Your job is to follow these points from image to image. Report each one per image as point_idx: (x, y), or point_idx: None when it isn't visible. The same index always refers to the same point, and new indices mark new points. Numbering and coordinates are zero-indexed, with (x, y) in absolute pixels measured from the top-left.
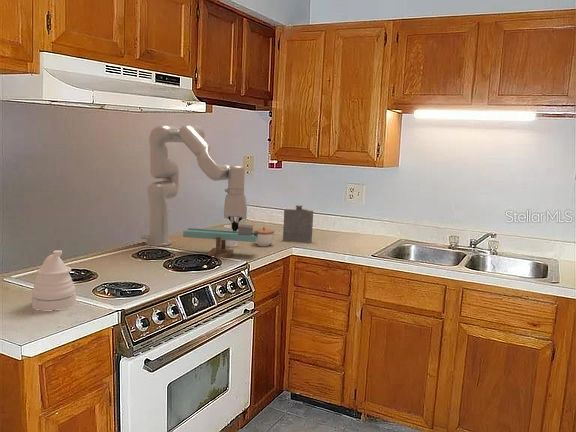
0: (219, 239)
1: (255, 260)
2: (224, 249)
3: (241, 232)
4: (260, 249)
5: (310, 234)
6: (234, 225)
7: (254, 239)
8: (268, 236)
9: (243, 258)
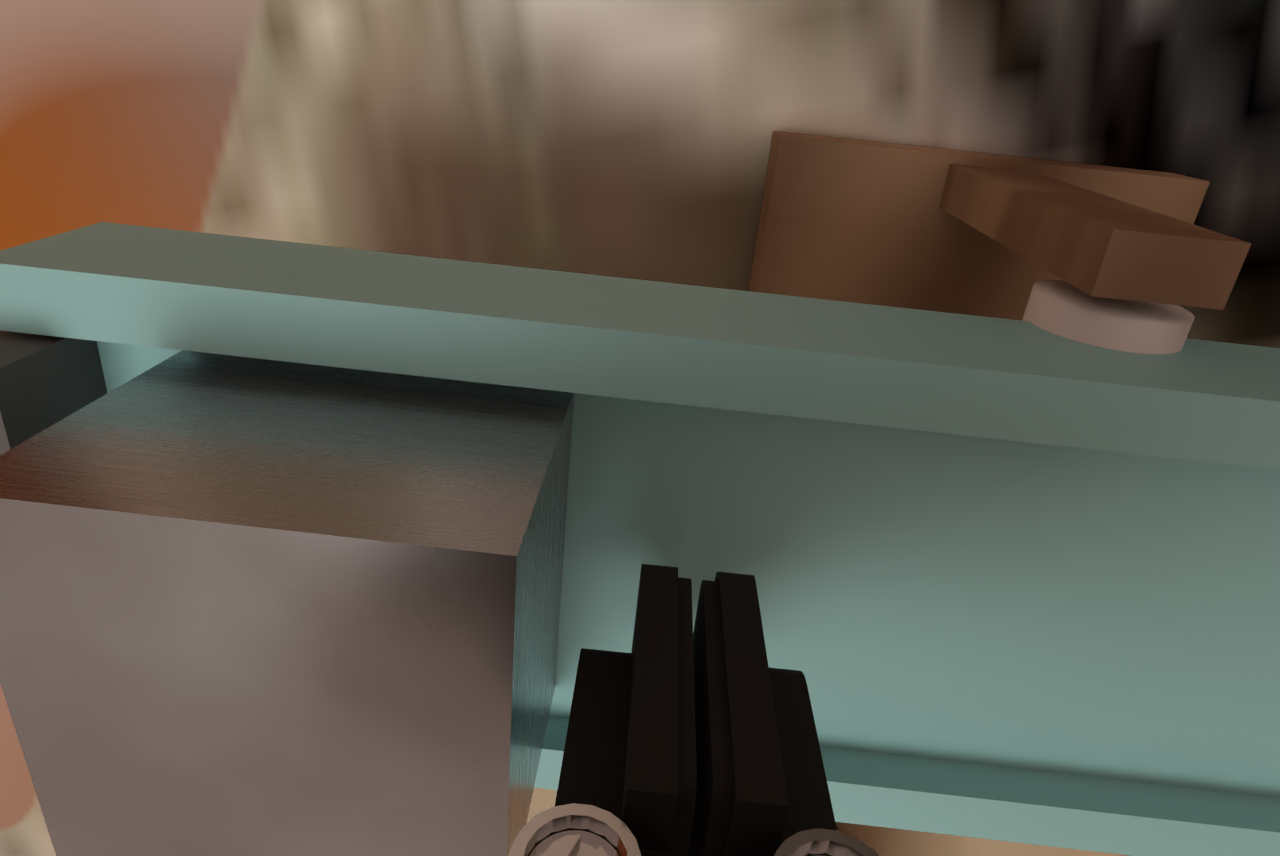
0: (1117, 220)
1: (255, 27)
2: None
3: (435, 427)
4: None
5: None
6: (704, 736)
7: (74, 239)
8: None
9: (497, 152)
